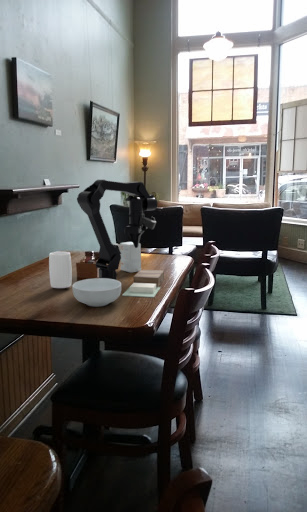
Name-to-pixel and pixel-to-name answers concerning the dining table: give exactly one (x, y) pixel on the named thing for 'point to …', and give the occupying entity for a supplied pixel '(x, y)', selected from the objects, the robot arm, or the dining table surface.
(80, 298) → the cereal bowl
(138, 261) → the small box
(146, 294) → the mat
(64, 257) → the cup
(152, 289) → the white rectangular block
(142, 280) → the brown flat wooden block
